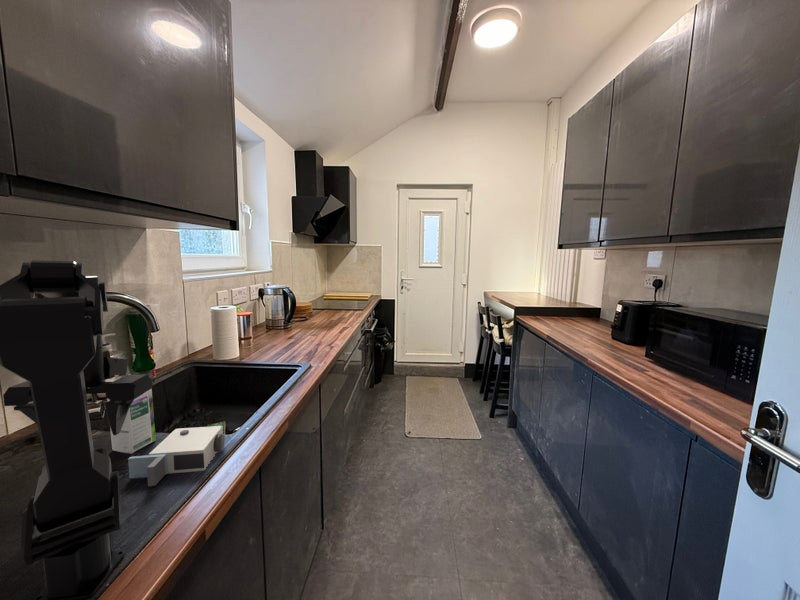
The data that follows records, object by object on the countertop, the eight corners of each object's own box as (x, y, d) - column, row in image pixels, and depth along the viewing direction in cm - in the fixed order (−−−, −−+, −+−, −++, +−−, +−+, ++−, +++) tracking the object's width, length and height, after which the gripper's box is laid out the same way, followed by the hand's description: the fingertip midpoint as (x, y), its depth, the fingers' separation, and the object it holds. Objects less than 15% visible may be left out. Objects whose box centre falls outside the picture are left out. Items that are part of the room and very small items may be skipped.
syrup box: (131, 454, 70) (127, 391, 69) (110, 451, 71) (105, 389, 70) (156, 440, 76) (152, 382, 74) (136, 437, 77) (132, 380, 75)
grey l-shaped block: (155, 486, 59) (153, 466, 59) (116, 490, 58) (115, 469, 58) (167, 472, 64) (166, 454, 63) (131, 475, 62) (130, 456, 62)
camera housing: (209, 470, 65) (208, 447, 65) (150, 475, 63) (148, 452, 63) (227, 443, 75) (227, 423, 74) (176, 447, 73) (175, 427, 73)
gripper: (166, 337, 63) (171, 412, 65) (58, 339, 60) (66, 417, 62) (128, 352, 52) (135, 441, 54) (-6, 355, 49) (5, 450, 51)
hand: (87, 436), depth 55 cm, fingers open, 9 cm apart
